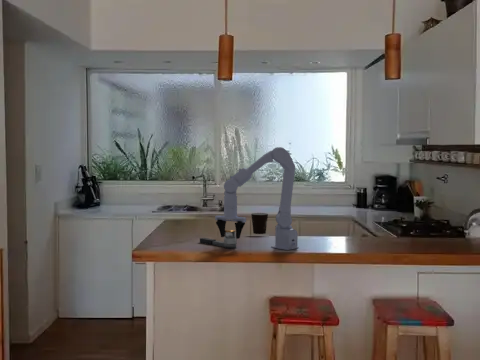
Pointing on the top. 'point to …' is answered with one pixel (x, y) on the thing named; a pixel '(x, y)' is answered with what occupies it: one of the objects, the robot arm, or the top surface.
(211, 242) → the ratchet
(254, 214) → the coffee mug
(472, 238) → the top surface
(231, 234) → the socket
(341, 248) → the top surface
